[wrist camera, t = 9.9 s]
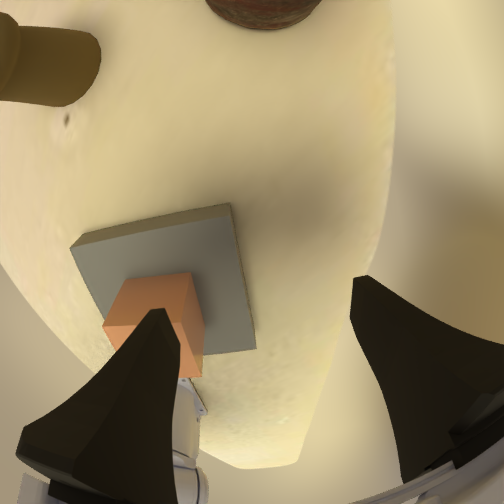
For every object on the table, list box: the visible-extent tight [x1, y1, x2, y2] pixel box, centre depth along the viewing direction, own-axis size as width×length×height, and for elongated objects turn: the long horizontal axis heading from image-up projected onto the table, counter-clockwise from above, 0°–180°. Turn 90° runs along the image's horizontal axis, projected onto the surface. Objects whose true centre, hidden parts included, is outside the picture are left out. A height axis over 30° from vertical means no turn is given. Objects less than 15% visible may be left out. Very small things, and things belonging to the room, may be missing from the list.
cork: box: [0, 12, 101, 107], centre depth 8 cm, size 6×6×11 cm
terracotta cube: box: [102, 272, 205, 378], centre depth 17 cm, size 5×5×5 cm
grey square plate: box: [70, 203, 257, 355], centre depth 21 cm, size 12×12×3 cm
